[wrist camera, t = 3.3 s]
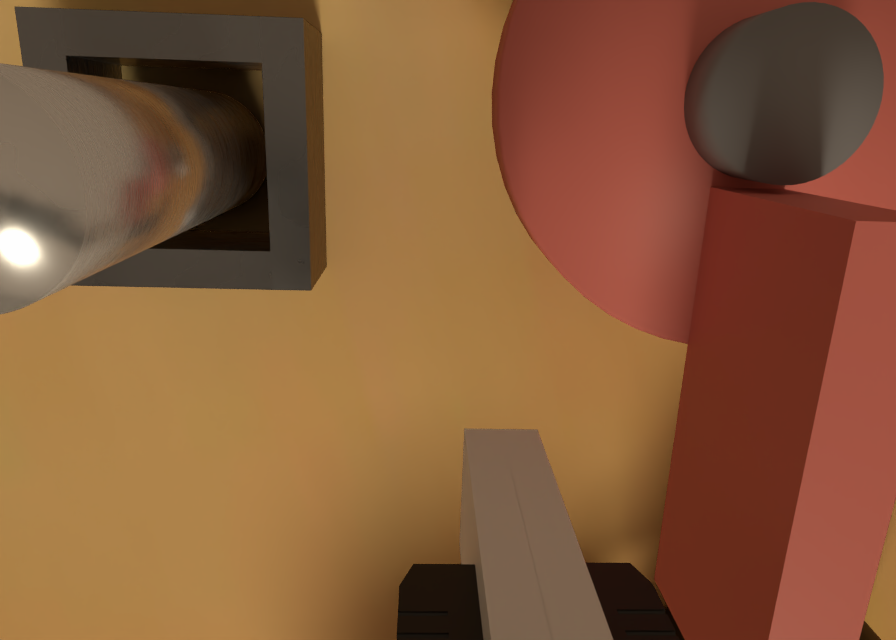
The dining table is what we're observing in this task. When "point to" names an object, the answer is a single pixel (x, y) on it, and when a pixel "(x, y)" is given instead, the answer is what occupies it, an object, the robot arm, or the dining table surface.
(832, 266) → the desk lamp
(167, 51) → the collar
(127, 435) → the dining table surface
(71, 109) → the peg
